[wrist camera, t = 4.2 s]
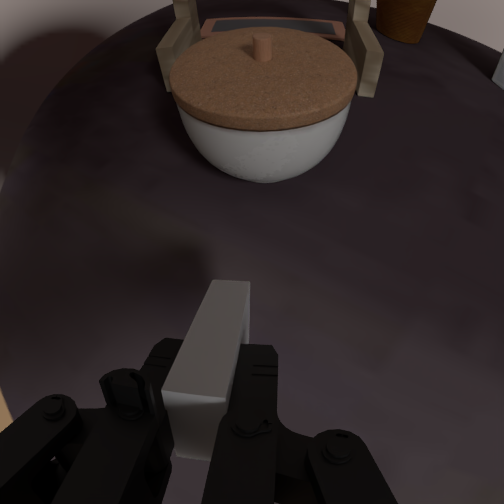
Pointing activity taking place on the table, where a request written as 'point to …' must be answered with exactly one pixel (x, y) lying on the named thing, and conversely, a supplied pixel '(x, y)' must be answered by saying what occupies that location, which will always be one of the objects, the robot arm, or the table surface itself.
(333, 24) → the framed chalkboard
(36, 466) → the robot arm
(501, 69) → the syrup box
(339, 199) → the table surface
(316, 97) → the lidded jar
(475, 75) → the table surface
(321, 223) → the table surface
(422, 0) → the disposable coffee cup
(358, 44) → the tunnel
